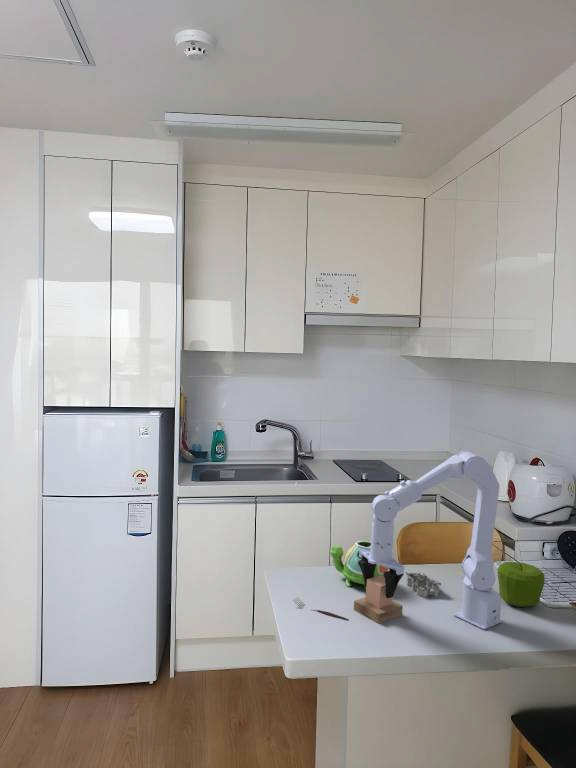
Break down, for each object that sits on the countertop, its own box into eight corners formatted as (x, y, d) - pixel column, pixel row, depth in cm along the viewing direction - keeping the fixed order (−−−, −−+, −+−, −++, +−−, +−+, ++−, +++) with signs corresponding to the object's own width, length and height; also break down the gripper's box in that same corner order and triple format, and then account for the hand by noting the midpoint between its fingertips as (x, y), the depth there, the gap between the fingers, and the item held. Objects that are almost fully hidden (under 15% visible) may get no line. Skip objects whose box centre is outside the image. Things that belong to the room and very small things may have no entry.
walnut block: (402, 616, 155) (402, 605, 154) (378, 625, 149) (378, 614, 149) (377, 603, 162) (377, 593, 162) (353, 611, 156) (354, 600, 156)
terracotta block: (392, 604, 155) (394, 582, 154) (378, 608, 152) (380, 586, 151) (378, 596, 159) (380, 575, 158) (365, 600, 156) (367, 579, 155)
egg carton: (442, 598, 167) (443, 584, 167) (417, 598, 166) (418, 584, 166) (426, 582, 178) (427, 569, 177) (403, 582, 176) (404, 569, 176)
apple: (517, 615, 158) (520, 574, 157) (486, 596, 169) (488, 558, 168) (552, 609, 162) (555, 569, 161) (519, 591, 174) (522, 554, 173)
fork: (346, 624, 149) (347, 616, 149) (292, 607, 157) (292, 600, 157) (350, 620, 151) (351, 612, 151) (297, 603, 159) (297, 596, 159)
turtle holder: (338, 568, 185) (340, 531, 184) (393, 581, 177) (395, 542, 176) (321, 581, 174) (323, 542, 174) (379, 596, 166) (381, 555, 165)
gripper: (351, 536, 157) (349, 585, 158) (392, 552, 146) (388, 605, 147) (370, 531, 162) (367, 579, 163) (410, 547, 150) (407, 599, 151)
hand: (379, 591), depth 155 cm, fingers open, 7 cm apart
